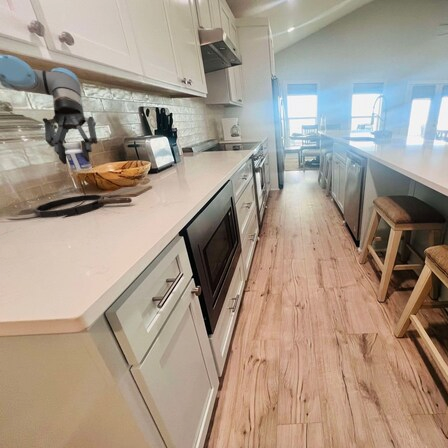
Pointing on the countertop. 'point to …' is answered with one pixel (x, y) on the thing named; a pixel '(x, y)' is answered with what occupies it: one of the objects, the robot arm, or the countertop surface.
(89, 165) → the pill bottle
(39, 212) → the pan
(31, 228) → the countertop surface
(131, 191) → the trivet
